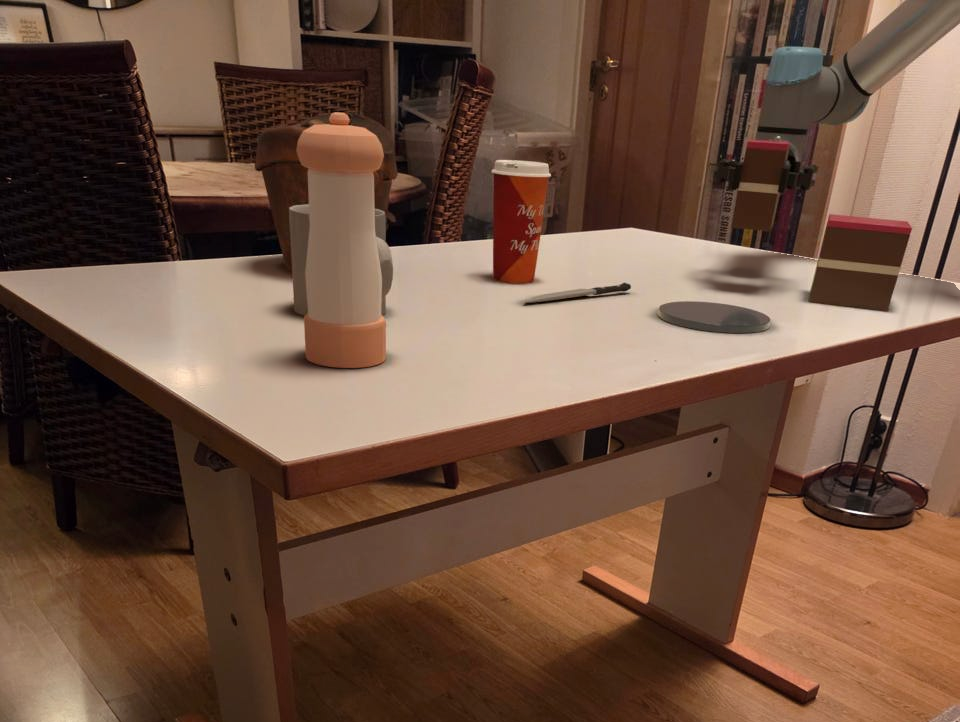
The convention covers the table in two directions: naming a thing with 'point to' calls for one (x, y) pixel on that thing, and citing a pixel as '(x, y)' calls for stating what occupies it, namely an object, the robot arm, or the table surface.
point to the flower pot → (291, 178)
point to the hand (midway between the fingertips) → (759, 178)
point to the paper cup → (517, 218)
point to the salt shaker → (342, 246)
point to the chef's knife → (580, 293)
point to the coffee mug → (300, 247)
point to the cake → (859, 261)
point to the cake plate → (714, 317)
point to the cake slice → (760, 185)
